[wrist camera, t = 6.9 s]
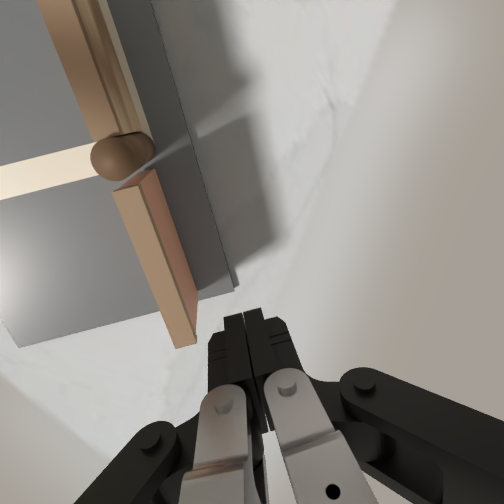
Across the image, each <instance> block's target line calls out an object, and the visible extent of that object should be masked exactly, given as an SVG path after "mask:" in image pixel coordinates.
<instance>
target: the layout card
mask: <svg viewBox="0 0 504 504" xmlns="http://www.w3.org/2000/svg"><path fill="white" fill-rule="evenodd" d="M98 2H99V5H100V8H101V11H102V14H103V17H104V20H105V22H106V25H107V28H108V31H109V34H110V37H111V40H112V43H113V46H114V49H115V52H116V54H117V57H118V60H119V63H120V66H121V69H122V72H123V75H124V78H125V81H126V84H127V86H128V89H129V92H130V95H131V98H132V101H133V104H134V107H135V110H136V113H137V116H138V118H139V121H140V124H141V127H142V130H141V131H137V132H142V133H145V134H147V135H148V136H149V137H150V138H151V139H152V140H153V142H154V144H155V148H156V151H155V155H154V157H153V158H152V159H151V160H150V161H149V162H148V163H146V164H145V165H144V166H142V167H141V168H140V169H138V170H137V171H135V172H134V173H133V174H131V175H130V176H129V177H127V178H126V179H124V180H121V181H109V180H106V179H104V178H103V177H101V176H100V175H99V174H98V173H97V172H96V171H95V170H94V168H93V166H92V164H91V160H90V154H91V150H92V148H93V146H94V145H95V144H96V143H97V142H98V141H99V140H98V141H93V140H92V137H91V135H90V132H89V130H88V127H87V125H86V122H85V120H84V118H83V115H82V113H81V110H80V108H79V105H78V103H77V100H76V98H75V95H74V93H73V90H72V88H71V86H70V83H69V81H68V78H67V76H66V73H65V71H64V68H63V66H62V63H61V61H60V58H59V56H58V54H57V51H56V49H55V46H54V44H53V41H52V39H51V36H50V34H49V31H48V29H47V26H46V24H45V21H44V19H43V17H42V14H41V12H40V9H39V7H38V4H37V2H36V0H0V320H1V321H2V323H3V324H4V326H5V328H6V329H7V331H8V332H9V334H10V335H11V337H12V338H13V340H14V341H15V343H16V345H17V346H18V348H21V347H25V346H29V345H33V344H36V343H40V342H44V341H48V340H52V339H55V338H59V337H63V336H67V335H70V334H74V333H78V332H82V331H86V330H89V329H93V328H97V327H101V326H105V325H108V324H112V323H116V322H120V321H123V320H127V319H131V318H135V317H139V316H142V315H146V314H150V313H154V312H158V311H160V310H159V307H158V305H157V302H156V300H155V297H154V295H153V293H152V290H151V288H150V285H149V283H148V280H147V278H146V275H145V273H144V271H143V268H142V266H141V263H140V261H139V258H138V256H137V253H136V251H135V249H134V246H133V244H132V241H131V239H130V236H129V234H128V231H127V229H126V227H125V224H124V222H123V219H122V217H121V214H120V212H119V209H118V207H117V205H116V202H115V200H114V197H113V195H112V192H113V191H114V190H116V189H118V188H119V187H121V186H122V185H123V184H124V183H126V182H127V181H128V180H130V179H131V178H132V177H133V176H135V175H136V174H137V173H138V172H142V171H146V170H150V169H154V168H155V170H156V173H157V176H158V179H159V182H160V185H161V188H162V190H163V193H164V196H165V199H166V202H167V205H168V208H169V211H170V214H171V217H172V219H173V222H174V225H175V228H176V231H177V234H178V237H179V240H180V243H181V246H182V248H183V251H184V254H185V257H186V260H187V263H188V266H189V269H190V272H191V274H192V277H193V280H194V283H195V286H196V289H197V292H198V301H199V300H203V299H207V298H211V297H214V296H218V295H222V294H226V293H229V292H233V291H234V286H233V283H232V280H231V276H230V273H229V269H228V266H227V263H226V259H225V256H224V252H223V249H222V245H221V242H220V239H219V235H218V232H217V228H216V225H215V221H214V218H213V215H212V211H211V208H210V204H209V201H208V197H207V194H206V191H205V187H204V184H203V180H202V177H201V173H200V170H199V167H198V163H197V160H196V156H195V153H194V149H193V146H192V143H191V139H190V136H189V132H188V129H187V125H186V122H185V119H184V115H183V112H182V108H181V105H180V101H179V98H178V95H177V91H176V88H175V84H174V81H173V77H172V74H171V71H170V67H169V64H168V60H167V57H166V54H165V50H164V47H163V43H162V40H161V36H160V33H159V30H158V26H157V23H156V19H155V16H154V12H153V9H152V6H151V2H150V0H98Z"/></svg>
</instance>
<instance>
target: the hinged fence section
mask: <svg viewBox="0 0 504 504" xmlns="http://www.w3.org/2000/svg"><path fill="white" fill-rule="evenodd" d="M112 195H113V197H114V200H115V202H116V205H117V207H118V209H119V212H120V214H121V217H122V219H123V222H124V224H125V227H126V229H127V231H128V234H129V236H130V239H131V241H132V244H133V246H134V249H135V251H136V253H137V256H138V258H139V261H140V263H141V266H142V268H143V271H144V273H145V275H146V278H147V280H148V283H149V285H150V288H151V290H152V293H153V295H154V297H155V300H156V302H157V305H158V307H159V310H160V312H161V315H162V317H163V319H164V322H165V324H166V327H167V329H168V332H169V334H170V337H171V339H172V341H173V344H174V346H175V349H177V348H181V347H185V346H189V345H192V344H196V343H197V335H196V319H197V304H198V292H197V289H196V286H195V283H194V280H193V277H192V274H191V272H190V269H189V266H188V263H187V260H186V257H185V254H184V251H183V248H182V246H181V243H180V240H179V237H178V234H177V231H176V228H175V225H174V222H173V219H172V217H171V214H170V211H169V208H168V205H167V202H166V199H165V196H164V193H163V190H162V188H161V185H160V182H159V179H158V176H157V173H156V170H155V168H154V169H150V170H146V171H142V172H138V173H137V174H136V175H135V176H133V177H132V178H131V179H130V180H128V181H127V182H126V183H124V184H123V185H122V186H121V187H119V188H118V189H116V190H114V191H113V192H112Z"/></svg>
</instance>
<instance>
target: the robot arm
mask: <svg viewBox="0 0 504 504" xmlns="http://www.w3.org/2000/svg"><path fill="white" fill-rule="evenodd" d="M243 315H244V318H243ZM243 315H242V313H238V314H234V315H231V316H227V317H224V330H225V331H221V332H217V333H213V335H212V337H211V339H210V341H209V343H208V394H207V395H206V396H205V397H204V399H203V400H202V403H201V406H200V411H199V412H198V413H197V414H196V415H195V416H194V417H193V418H191V419H190V420H188V421H186V422H185V423H183V424H181V425H179V426H178V427H176V428H175V427H174V426H173V425H172V424H171V423H169V422H167V421H157V422H153V423H151V424H149V425H147V426H145V427H144V428H142V429H141V430H140V431H138V432H137V433H136V434H135V436H134V437H133V438H132V439H131V440H130V441H129V442H128V443H127V444H126V446H125V447H124V448H123V449H122V450H121V451H120V452H119V453H118V455H117V456H116V457H115V458H114V459H113V460H112V461H111V462H110V464H109V465H108V466H107V467H106V468H105V469H104V470H103V471H102V473H101V474H100V475H99V476H98V477H97V478H96V479H95V480H94V481H93V483H92V484H91V485H90V486H89V487H88V488H87V489H86V491H84V493H83V494H82V495H81V496H80V497H79V498H78V500H76V502H75V503H74V504H269V494H268V483H267V472H266V460H265V455H264V446H263V439H262V434H263V433H267V432H268V426H267V421H268V424H269V428H270V431H274V430H275V432H276V435H277V438H278V442H279V446H280V449H281V453H282V456H283V460H284V463H285V466H286V470H287V473H288V476H289V479H290V483H291V486H292V489H293V493H294V495H295V499H296V502H297V504H379V503H378V501H377V499H376V497H375V495H374V494H373V492H372V490H371V488H370V486H369V484H368V482H367V481H366V478H365V476H364V474H363V472H362V471H364V472H365V473H367V474H368V475H370V476H371V477H373V478H374V479H376V480H377V481H379V482H381V483H382V484H384V485H385V486H387V487H388V488H390V489H391V490H393V491H394V492H396V493H397V494H399V495H400V496H402V497H404V498H405V499H407V500H408V501H410V502H412V503H413V504H504V421H502V420H499V419H497V418H494V417H492V416H489V415H487V414H484V413H481V412H479V411H477V410H474V409H472V408H469V407H467V406H465V405H462V404H459V403H457V402H454V401H452V400H450V399H447V398H444V397H442V396H440V395H437V394H435V393H432V392H429V391H427V390H425V389H422V388H420V387H417V386H415V385H412V384H410V383H408V382H405V381H402V380H400V379H397V378H395V377H393V376H390V375H388V374H385V373H383V372H380V371H378V370H375V369H372V368H366V367H361V368H355V369H351V370H349V371H348V372H346V373H345V374H344V375H343V376H342V377H341V379H340V381H339V382H324V381H318V380H316V379H313V378H311V377H310V376H308V375H307V374H306V373H305V371H304V370H303V368H302V366H301V363H300V360H299V358H298V355H297V352H296V350H295V347H294V344H293V342H292V339H291V336H290V334H289V331H288V329H287V326H286V323H285V322H284V321H283V320H281V319H280V318H278V317H273V318H269V319H266V320H264V317H263V313H262V310H261V307H260V308H257V309H253V310H249V311H245V312H243ZM244 320H245V322H244ZM265 414H266V416H265ZM266 417H267V421H266ZM361 470H362V471H361Z"/></svg>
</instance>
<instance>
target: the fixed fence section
mask: <svg viewBox="0 0 504 504" xmlns="http://www.w3.org/2000/svg"><path fill="white" fill-rule="evenodd" d="M36 2H37V4H38V7H39V9H40V12H41V14H42V17H43V19H44V21H45V24H46V26H47V29H48V31H49V34H50V36H51V39H52V41H53V44H54V46H55V49H56V51H57V54H58V56H59V58H60V61H61V63H62V66H63V68H64V71H65V73H66V76H67V78H68V81H69V83H70V86H71V88H72V90H73V93H74V95H75V98H76V100H77V103H78V105H79V108H80V110H81V113H82V115H83V118H84V120H85V122H86V125H87V127H88V130H89V132H90V135H91V137H92V140H93V141H98V140H99V141H98V142H97V143H96V144H95V145H94V146H93V148H92V150H91V154H90V160H91V164H92V166H93V168H94V170H95V171H96V172H97V173H98V174H99V175H100V176H101V177H103V178H104V179H106V180H109V181H121V180H124V179H126V178H127V177H129V176H130V175H131V174H133V173H134V172H135V171H137V170H138V169H140V168H141V167H142V166H144V165H145V164H146V163H148V162H149V161H150V160H151V159H152V158H153V157H154V155H155V151H156V148H155V144H154V142H153V140H152V139H151V138H150V137H149V136H148V135H147V134H145V133H142V132H137V131H141V130H142V127H141V124H140V121H139V118H138V116H137V113H136V110H135V107H134V104H133V101H132V98H131V95H130V92H129V89H128V86H127V84H126V81H125V78H124V75H123V72H122V69H121V66H120V63H119V60H118V57H117V54H116V52H115V49H114V46H113V43H112V40H111V37H110V34H109V31H108V28H107V25H106V22H105V20H104V17H103V14H102V11H101V8H100V5H99V2H98V0H36Z"/></svg>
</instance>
